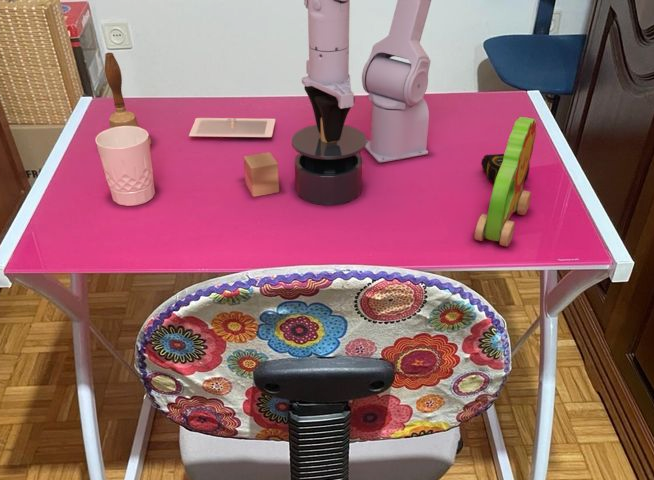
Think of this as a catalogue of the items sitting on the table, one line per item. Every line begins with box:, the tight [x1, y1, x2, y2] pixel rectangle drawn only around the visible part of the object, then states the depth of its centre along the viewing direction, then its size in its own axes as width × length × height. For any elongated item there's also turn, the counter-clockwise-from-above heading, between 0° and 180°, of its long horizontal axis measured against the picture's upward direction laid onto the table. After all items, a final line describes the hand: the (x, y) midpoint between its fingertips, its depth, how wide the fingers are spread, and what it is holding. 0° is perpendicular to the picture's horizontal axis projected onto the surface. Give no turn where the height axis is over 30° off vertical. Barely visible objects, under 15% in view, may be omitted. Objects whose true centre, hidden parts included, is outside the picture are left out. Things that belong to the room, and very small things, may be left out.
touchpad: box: [188, 117, 276, 138], centre depth 132 cm, size 8×15×2 cm, turn 88°
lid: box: [291, 117, 368, 160], centre depth 110 cm, size 12×12×4 cm
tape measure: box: [480, 153, 531, 183], centre depth 117 cm, size 7×7×4 cm
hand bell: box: [104, 52, 152, 146], centre depth 124 cm, size 8×8×16 cm
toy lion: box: [473, 116, 537, 248], centre depth 104 cm, size 16×5×15 cm, turn 155°
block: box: [243, 151, 280, 198], centre depth 115 cm, size 4×4×5 cm
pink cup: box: [95, 126, 156, 207], centre depth 112 cm, size 8×8×10 cm
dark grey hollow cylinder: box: [294, 153, 363, 206], centre depth 115 cm, size 11×11×5 cm
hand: (329, 136), depth 111 cm, fingers closed on lid, 2 cm apart
